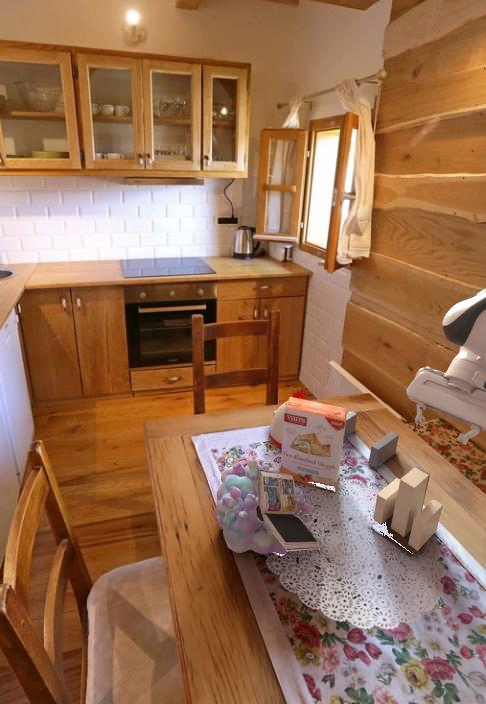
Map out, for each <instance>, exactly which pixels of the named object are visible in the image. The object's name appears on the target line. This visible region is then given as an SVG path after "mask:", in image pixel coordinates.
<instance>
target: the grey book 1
mask: <svg viewBox="0 0 486 704" xmlns="http://www.w3.org/2000/svg"><path fill="white" fill-rule="evenodd" d="M357 421H358V413H356V411H353V410H351V411H349V412H347V417H346V424H345V432H344V438H346V437H347V436H349V435H350V434H353V433H354V432H356V426H357Z"/></svg>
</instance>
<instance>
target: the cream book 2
mask: <svg viewBox="0 0 486 704" xmlns="http://www.w3.org/2000/svg"><path fill="white" fill-rule="evenodd" d="M443 507H444V505H443V503H440V502H439V501H437V500H435V499H432V500H431V501H429V503H428V504H427V505H425V506H424V508H422V511H421V512H420V513H419V514H418V515H417V516H416V517H415V518H414V520H413V525H412V530H411V534H410V539H409V543H408V544H409V545H410V546H411V547H413V548H414V549H416V550H417V552H419V550H420V549H421V548H422V547H423V546H424V545H425V543H427V542H428V540H430V538H432V536H433V535H435V533H436V532H437V530H438V527H439V523H440V518H441V515H442V510H443Z"/></svg>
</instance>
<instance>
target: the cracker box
mask: <svg viewBox="0 0 486 704" xmlns="http://www.w3.org/2000/svg"><path fill="white" fill-rule="evenodd" d="M287 401H288V402H287ZM287 401H286V402H287V405H286V407H285V413H284V425H283V439H282V449H281V452H280V453H281V455H280V467H279V473H284V474H289V475H292V477H293V479H294V482H297V483H300V484H304V485H308V486H311V487H315V486H316V484H312V483H308V482H314V483H320V484H324V485H329V486H334V487H336V488H337V486H338V480H339V474H340V468H341V461H342V453H343V447H344V439H345V437H344V432H345V424H346V417H347V413H348V408H346V407H341V406H336V405H332V404H326V403H322V402H317V401H316V402H315V401H311V400H308V399H305V400H303V399H298V398H293V396H290V397H288V400H287ZM314 485H315V486H314ZM336 485H337V486H336Z"/></svg>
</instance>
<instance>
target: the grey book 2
mask: <svg viewBox="0 0 486 704" xmlns="http://www.w3.org/2000/svg"><path fill="white" fill-rule="evenodd" d="M399 437H400V436H399V434H398V433H396V432H394V431H391V432H390V433H388V434H386V435H385V436H383V437H382V438H381V439H379V440H378V441H376V442H374V444H372V445H371V446H370V452H369V460H368V465H369V466H370V467H372V468H374V469H377V468H378V467H380V466H381V465H382V464H384V463H385V462H386V461H387V460H388V459H390V458H391V457H392V456H394V455H395V454H397V449H398V448H397V447H398V444H399V443H398V442H399Z"/></svg>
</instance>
